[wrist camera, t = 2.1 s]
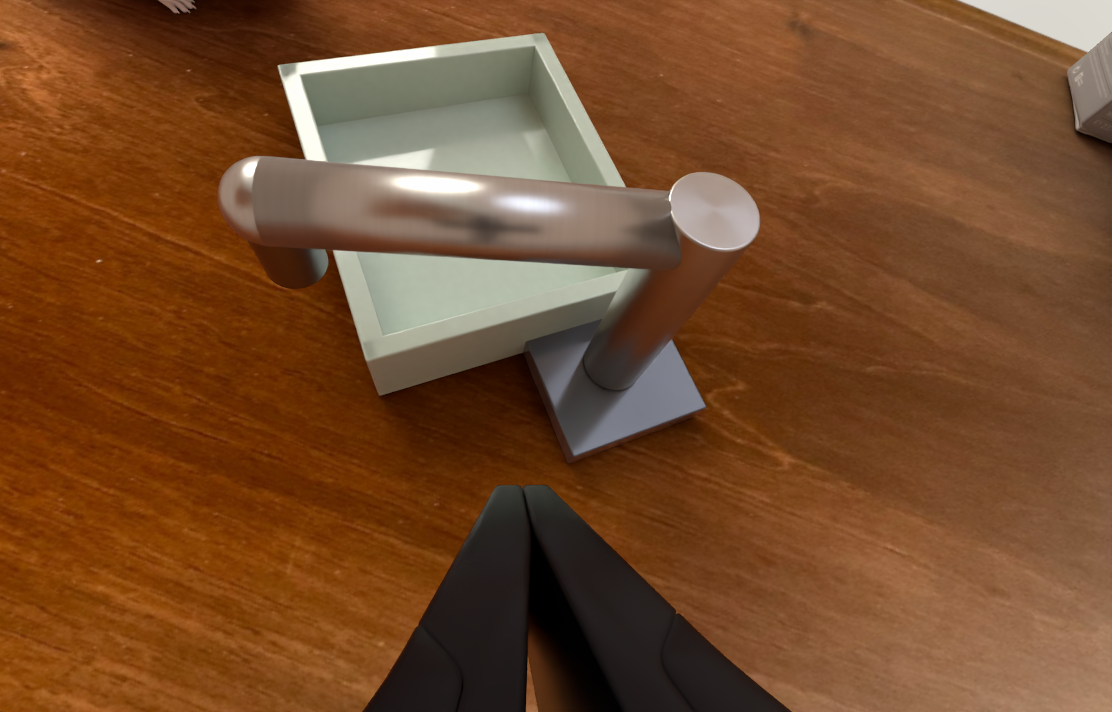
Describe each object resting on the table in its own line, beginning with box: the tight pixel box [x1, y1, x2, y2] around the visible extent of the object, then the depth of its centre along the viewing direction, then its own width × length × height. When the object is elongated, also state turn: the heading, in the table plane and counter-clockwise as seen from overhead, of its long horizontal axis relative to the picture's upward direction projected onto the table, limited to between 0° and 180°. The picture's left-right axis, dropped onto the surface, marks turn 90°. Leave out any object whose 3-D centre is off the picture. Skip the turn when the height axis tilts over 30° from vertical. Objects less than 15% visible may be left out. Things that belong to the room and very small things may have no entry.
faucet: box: [217, 156, 760, 390], centre depth 17 cm, size 13×2×10 cm, turn 92°
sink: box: [278, 33, 706, 463], centre depth 23 cm, size 19×12×4 cm, turn 22°
